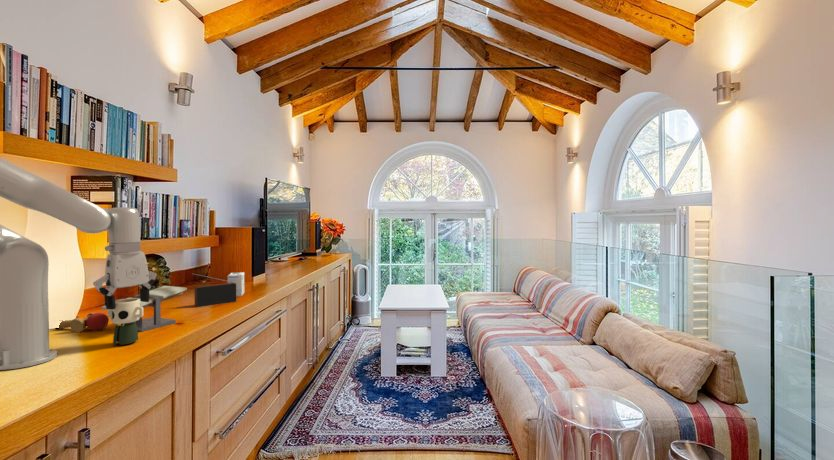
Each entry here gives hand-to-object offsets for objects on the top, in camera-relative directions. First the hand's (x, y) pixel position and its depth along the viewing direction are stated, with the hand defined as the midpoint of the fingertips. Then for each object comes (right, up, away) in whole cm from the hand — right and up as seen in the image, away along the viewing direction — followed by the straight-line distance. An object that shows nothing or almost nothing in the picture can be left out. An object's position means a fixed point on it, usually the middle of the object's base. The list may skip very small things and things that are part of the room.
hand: (128, 305), depth 118 cm
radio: (-4, -11, +56) cm, 57 cm away
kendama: (-27, -12, +15) cm, 33 cm away
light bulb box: (-4, -10, +79) cm, 80 cm away
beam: (-8, -4, +20) cm, 22 cm away
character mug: (-1, -12, 0) cm, 12 cm away
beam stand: (-8, -11, +20) cm, 24 cm away
